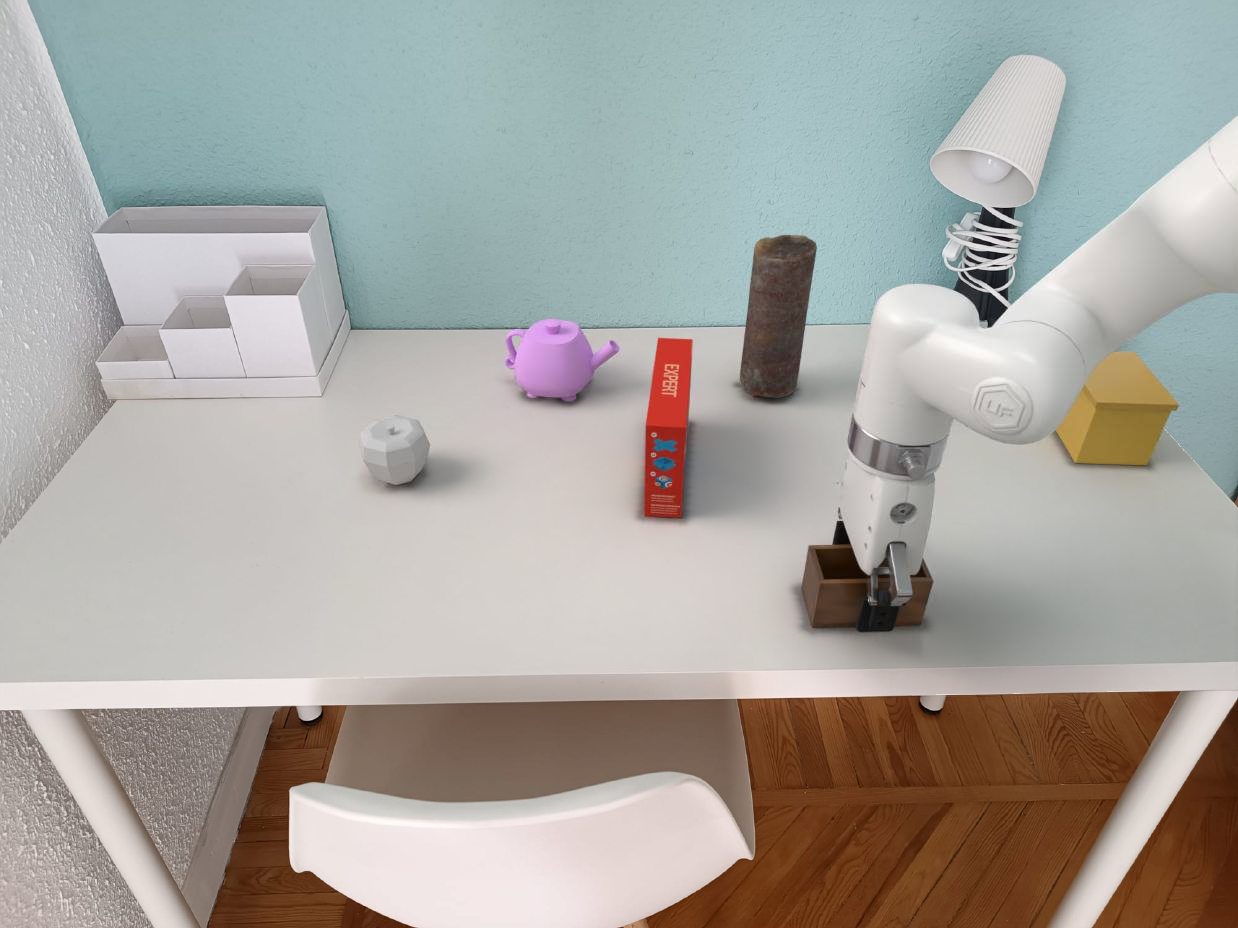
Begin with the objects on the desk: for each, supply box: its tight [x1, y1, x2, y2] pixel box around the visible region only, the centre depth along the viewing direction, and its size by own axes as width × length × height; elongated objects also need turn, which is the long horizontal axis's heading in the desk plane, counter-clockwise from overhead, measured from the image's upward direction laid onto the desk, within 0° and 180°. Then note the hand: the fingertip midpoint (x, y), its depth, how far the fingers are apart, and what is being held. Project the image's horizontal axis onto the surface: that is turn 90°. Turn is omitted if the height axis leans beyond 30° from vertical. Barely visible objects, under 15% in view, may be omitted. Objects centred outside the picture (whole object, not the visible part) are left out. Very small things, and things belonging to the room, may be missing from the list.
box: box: [1055, 350, 1180, 466], centre depth 101 cm, size 12×9×8 cm
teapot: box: [504, 318, 621, 402], centre depth 110 cm, size 10×15×9 cm
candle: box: [739, 234, 818, 399], centre depth 106 cm, size 8×7×20 cm
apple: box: [357, 414, 431, 486], centre depth 96 cm, size 8×8×7 cm
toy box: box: [643, 337, 694, 519], centre depth 96 cm, size 18×4×12 cm, turn 174°
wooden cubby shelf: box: [800, 544, 934, 629], centre depth 80 cm, size 10×5×6 cm, turn 91°
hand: (860, 589), depth 80 cm, fingers open, 9 cm apart
